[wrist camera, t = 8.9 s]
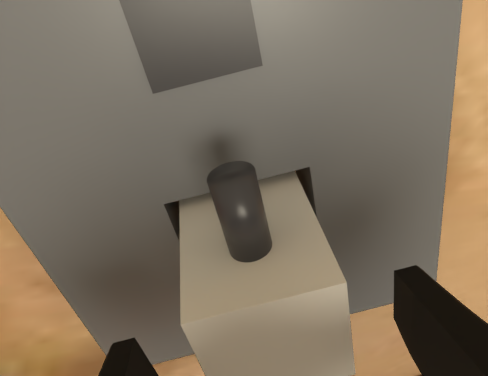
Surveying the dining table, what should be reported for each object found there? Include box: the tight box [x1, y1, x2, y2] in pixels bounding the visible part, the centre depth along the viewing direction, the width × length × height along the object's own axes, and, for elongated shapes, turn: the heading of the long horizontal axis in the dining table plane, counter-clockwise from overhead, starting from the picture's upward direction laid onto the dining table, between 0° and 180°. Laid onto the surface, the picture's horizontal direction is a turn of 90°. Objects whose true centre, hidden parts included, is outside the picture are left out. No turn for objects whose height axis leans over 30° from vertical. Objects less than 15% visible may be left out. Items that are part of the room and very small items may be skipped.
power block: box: [0, 0, 463, 365], centre depth 13 cm, size 14×20×3 cm
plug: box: [179, 161, 355, 376], centre depth 13 cm, size 4×6×8 cm, turn 12°
